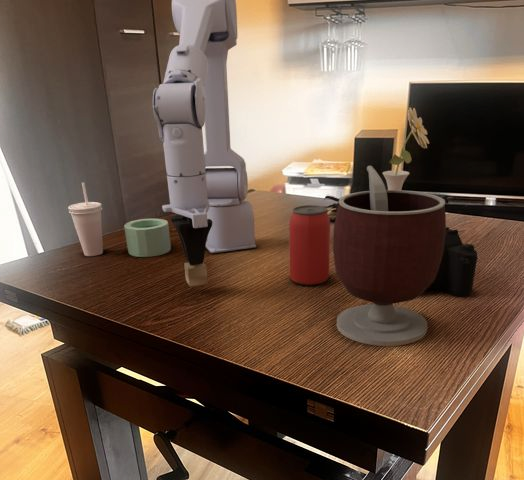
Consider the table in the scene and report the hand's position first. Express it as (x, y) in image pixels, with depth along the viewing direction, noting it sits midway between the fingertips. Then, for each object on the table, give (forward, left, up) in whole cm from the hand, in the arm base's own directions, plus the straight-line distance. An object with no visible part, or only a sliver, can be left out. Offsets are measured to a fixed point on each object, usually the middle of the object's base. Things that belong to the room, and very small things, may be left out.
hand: (194, 262), depth 85 cm
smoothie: (+15, -30, -5) cm, 34 cm away
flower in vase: (-43, -11, -5) cm, 45 cm away
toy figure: (-39, -33, -5) cm, 51 cm away
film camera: (-35, +12, -5) cm, 37 cm away
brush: (0, 0, -3) cm, 3 cm away
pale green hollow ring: (+4, -27, -5) cm, 28 cm away
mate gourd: (-21, +22, -5) cm, 31 cm away
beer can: (-19, +2, -5) cm, 20 cm away
